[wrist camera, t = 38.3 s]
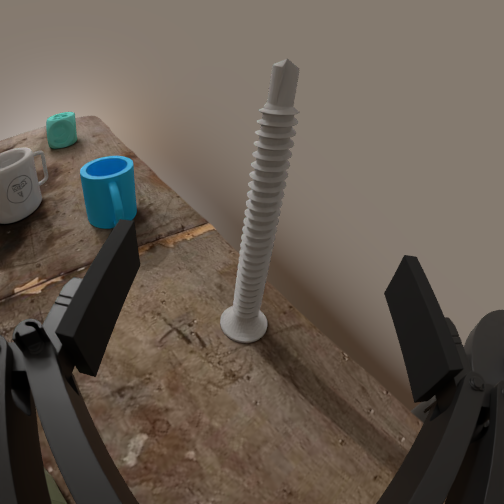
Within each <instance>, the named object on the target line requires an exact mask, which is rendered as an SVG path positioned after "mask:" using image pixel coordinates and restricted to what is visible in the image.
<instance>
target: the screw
mask: <svg viewBox="0 0 504 504" xmlns="http://www.w3.org/2000/svg"><path fill="white" fill-rule="evenodd" d="M298 75H299V68H298V67H297V66H296V65H294V64H293V63H292V62H291V61H289V60H288V59H286V60H283V61H281V62H278V63H276V64H274V65H273V67H272V73H271V80H270V87H269V93H268V100H267V103H266V104H265V105H264V108H262V109H259V111H260V112H261V113H263V116H262V119H261V120H257V122H258V123H259V124H261V130H258V131H256V132H255V133H256V134H257V135H259V136H260V137H259V141H256V142H254V145H255V146H257V147H258V151H256V152H253V153H252V155H253V156H254V157H256V161H255V162H252V163H251V166H252V167H253V168H255V171H253V172H251V173H250V177H251V178H253V181H251V182H249V183H248V185H249V187H250V188H251V189H252V190H250V191H248V193H247V196H248V197H249V198H250V199H249V200H247V201H246V206H247V207H248V208H247V209H246V210H245V215H246V216H247V217H246V218H244V221H243V222H244V224H245V226H244V227H243V233H244V234H243V235H242V237H241V239H242V243H241V245H240V246H241V250H240V252H239V253H240V257H239V264H238V271H237V278H236V282H237V283H236V285H235V287H236V289H235V295H234V302H233V304H234V305H233V306H231V307H229V308H228V309H226V310H225V311H224V312H223V314H222V316H221V321H220V325H221V329H222V331H223V332H224V334H225V335H226V336H227V337H228V338H230V339H232V340H234V341H236V342H240V343H250V342H254V341H257V340H259V339H260V338H261V337H262V336H263V335H264V334H265V332H266V329H267V320H266V317H265V315H264V314H263V313H262V312H261V311H260V306H261V301H262V296H263V293H264V288H265V283H266V277H267V274H268V272H267V271H268V269H269V263H270V257H271V255H272V249H273V246H274V245H273V242H274V240H275V233H276V232H277V227H276V226H277V225H278V222H279V220H278V217H279V216H280V207H281V206H282V201H281V199H282V198H283V197H284V192H283V189H284V188H285V187H286V183H285V181H284V180H285V179H286V178H287V177H288V173H287V171H286V169H288V168H289V166H290V163H289V161H288V160H287V159H289V158H291V156H292V153H291V151H290V150H289V148H292V147H293V145H294V142H293V141H292V140H291V139H290V137H293V136H295V134H296V132H295V130H294V129H293V128H292V126H294V125H296V124H298V121H297V119H296V118H294V115H295V114H298V113H299V112H298V111H297V110H296V109H295V108H294V107H293V104H294V99H295V93H296V87H297V82H298Z"/></svg>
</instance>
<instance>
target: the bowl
mask: <svg viewBox="0 0 504 504" xmlns="http://www.w3.org/2000/svg"><path fill="white" fill-rule="evenodd" d="M44 472H45V477H46V481H47V486H48V490H49V494H50V498H51V502H52V504H67V503H66V501H65V499H64V497H63V496H62V494H61V492H60V490H59V489H58V487H57V485H56V483H55V481H54V479H53V478H52V476H51V475H50V474H49V473H48V472H47V471H46V469H45V468H44Z"/></svg>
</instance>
